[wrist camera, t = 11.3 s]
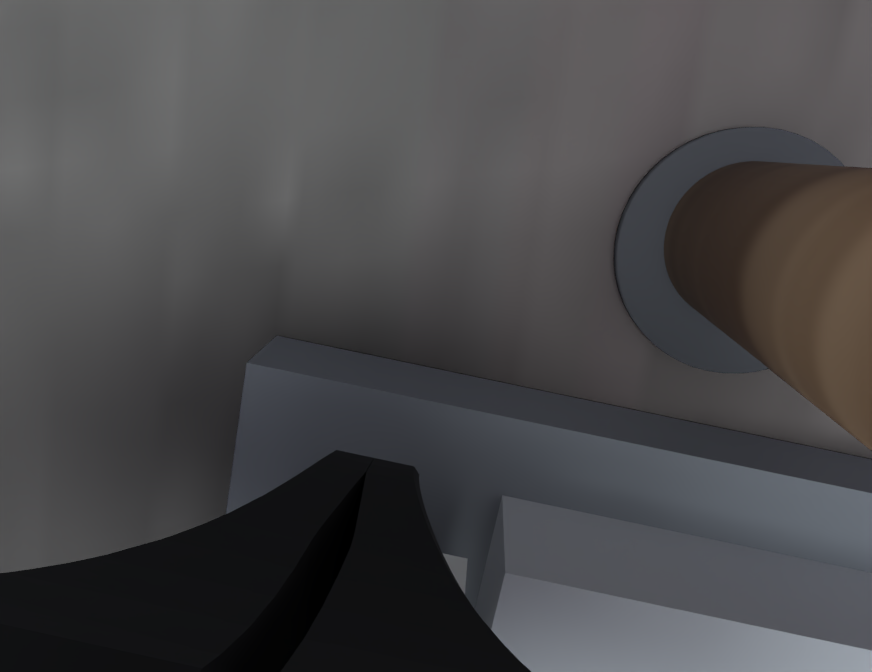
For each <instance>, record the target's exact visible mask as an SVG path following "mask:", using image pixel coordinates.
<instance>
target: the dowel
mask: <svg viewBox="0 0 872 672" xmlns="http://www.w3.org/2000/svg"><path fill="white" fill-rule="evenodd" d="M664 259H665V265H666V269H667V272H668V275H669V278H670V280H671V282H672V284H673V286H674V288H675V289H676V291H677V292H678V294H679V295H680V296H681V297H682V298H683V299H684V301H685V302H687V303H688V304H689V305H690V306H691V307H692V308H694V309H695V310H696V311H697V312H699V313H700V314H701V315H702V316H704V317H705V318H706V319H707V320H709V321H710V322H711V323H712V324H714V325H715V326H716V327H717V328H719V329H720V330H721V331H722V332H724V333H725V334H726V335H727V336H729V337H730V338H731V339H732V340H734V341H735V342H736V343H737V344H739V345H740V346H741V347H742V348H744V349H745V350H746V351H747V352H749V353H750V354H751V355H752V356H754V357H755V358H756V359H757V360H759V361H760V362H761V363H762V364H764V365H765V366H766V367H767V368H769V369H770V370H771V371H772V372H774V373H775V374H776V375H777V376H779V377H780V378H781V379H782V380H784V381H785V382H786V383H787V384H789V385H790V386H791V387H792V388H794V389H795V390H796V391H797V392H799V393H800V394H801V395H802V396H804V397H805V398H806V399H807V400H809V401H810V402H811V403H812V404H814V405H815V406H816V407H817V408H819V409H820V410H821V411H822V412H824V413H825V414H826V415H827V416H829V417H830V418H831V419H832V420H834V421H835V422H836V423H837V424H839V425H840V426H841V427H842V428H844V429H845V430H846V431H847V432H849V433H850V434H851V435H852V436H854V437H855V438H856V439H857V440H859V441H860V442H861V443H862V444H864V445H865V446H866V447H867V448H869V449H870V450H871V451H872V168H860V167H844V166H828V165H812V164H796V163H779V162H763V161H748V162H739V163H735V164H730V165H727V166H725V167H722V168H719V169H717V170H715V171H713V172H711V173H709V174H708V175H706V176H705V177H703V178H702V179H700V180H699V181H698V182H696V183H695V184H694V185H693V186H692V187H691V188H690V189H689V190H688V191H687V192H686V193H685V194H684V195H683V197H682V198H681V199H680V201H679V202H678V204H677V205H676V207H675V209H674V211H673V213H672V215H671V217H670V220H669V222H668V225H667V229H666V233H665V239H664Z"/></svg>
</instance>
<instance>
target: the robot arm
mask: <svg viewBox="0 0 872 672" xmlns="http://www.w3.org/2000/svg"><path fill="white" fill-rule="evenodd" d="M0 672H531V671H530V670H529V669H528V668H527V667H526V666H525V665H524V664H522V663H521V662H520V661H519V660H518V659H517V658H516V657H515V656H514V654H513V653H512V652H511V651H510V650H509V649H508V648H507V647H506V646H505V645H504V644H503V643H502V642H501V641H500V640H499V638H498V637H497V636H496V635H495V634H494V632H493V631H492V630H491V629H490V628H489V627H488V625H487V624H486V623H485V622H484V621H483V620H482V618H481V617H480V616H479V614H478V613H477V612H476V611H475V609H474V608H473V606H472V605H471V603H470V602H469V600H468V598H467V597H466V595H465V594H464V592H463V591H462V589H461V587H460V586H459V584H458V582H457V581H456V579H455V577H454V575H453V573H452V571H451V570H450V568H449V566H448V564H447V562H446V559H445V557H444V555H443V553H442V551H441V549H440V547H439V544H438V542H437V540H436V537H435V535H434V532H433V529H432V527H431V524H430V521H429V519H428V516H427V513H426V510H425V506H424V503H423V499H422V495H421V490H420V484H419V473H418V472H417V470H416V469H415V467H414V466H410V465H406V464H401V463H396V462H391V461H387V460H382V459H377V458H372V457H368V456H363V455H358V454H353V453H349V452H344V451H339V450H335V451H334V452H332V453H330V454H329V455H327V456H325V457H324V458H322V459H321V460H319V461H318V462H316V463H314V464H313V465H311V466H310V467H308V468H307V469H305V470H304V471H302V472H301V473H299V474H298V475H296V476H294V477H293V478H291V479H290V480H288V481H286V482H285V483H283V484H281V485H280V486H278V487H276V488H275V489H273V490H271V491H270V492H268V493H266V494H264V495H263V496H261V497H259V498H257V499H255V500H253V501H251V502H249V503H247V504H245V505H243V506H241V507H239V508H237V509H236V510H234V511H232V512H230V513H228V514H226V515H223V516H221V517H219V518H217V519H214V520H212V521H210V522H207V523H205V524H203V525H200V526H197V527H195V528H192V529H189V530H187V531H184V532H181V533H179V534H176V535H173V536H170V537H167V538H164V539H161V540H158V541H154V542H150V543H147V544H143V545H140V546H136V547H133V548H129V549H126V550H122V551H118V552H115V553H111V554H108V555H104V556H99V557H95V558H90V559H85V560H80V561H76V562H71V563H66V564H60V565H54V566H48V567H42V568H36V569H30V570H23V571H16V572H9V573H0Z"/></svg>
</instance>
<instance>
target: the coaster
mask: <svg viewBox="0 0 872 672" xmlns="http://www.w3.org/2000/svg"><path fill="white" fill-rule="evenodd" d="M748 161H763V162H779V163H796V164H812V165H828V166H844V165H843V164H842V163H841V162H840V161H839V160H838V159H837V158H836V157H835V156H834V155H832V154H831V153H830V152H829V151H828V150H826V149H825V148H823V147H822V146H820V145H819V144H817V143H815V142H814V141H812V140H810V139H807V138H805V137H803V136H800V135H798V134H795V133H792V132H788V131H784V130H780V129H773V128H765V127H745V128H735V129H727V130H721V131H717V132H714V133H710V134H706V135H704V136H701V137H699V138H696V139H694V140H692V141H689V142H688V143H686V144H684V145H682V146H681V147H679V148H677V149H675V150H674V151H673V152H671V153H670V154H668V155H667V156H666V157H664V158H663V159H662V160H661V161H660V162H658V163H657V164H656V165H655V166H654V167H653V168H652V169H651V170H650V171H649V172H648V173H647V175H646V176H645V177H644V178H643V179H642V181H641V182H640V183H639V184H638V186H637V187H636V189H635V191H634V192H633V194H632V195H631V197H630V198H629V201H628V203H627V205H626V207H625V209H624V211H623V213H622V217H621V220H620V223H619V226H618V229H617V235H616V240H615V249H614V267H615V276H616V281H617V285H618V290H619V292H620V295H621V298H622V300H623V303H624V305H625V307H626V309H627V311H628V313H629V314H630V316H631V318H632V319H633V320H634V322H635V323H636V325H637V326H638V327H639V329H640V330H641V331H642V332H643V333H644V334H645V335H646V336H647V338H648V339H649V340H650V341H651V342H652V343H653V344H654V345H656V346H657V347H658V348H660V349H661V350H662V351H663V352H665V353H666V354H668V355H669V356H671V357H673V358H675V359H676V360H678V361H680V362H683V363H685V364H687V365H690V366H692V367H695V368H699V369H703V370H706V371H712V372H719V373H748V372H756V371H761V370H765V369H769V368H767V367H766V366H765V365H764V364H762V363H761V362H760V361H759V360H757V359H756V358H755V357H754V356H752V355H751V354H750V353H749V352H747V351H746V350H745V349H744V348H742V347H741V346H740V345H739V344H737V343H736V342H735V341H734V340H732V339H731V338H730V337H729V336H727V335H726V334H725V333H724V332H722V331H721V330H720V329H719V328H717V327H716V326H715V325H714V324H712V323H711V322H710V321H709V320H707V319H706V318H705V317H704V316H702V315H701V314H700V313H699V312H697V311H696V310H695V309H694V308H692V307H691V306H690V305H689V304H688V303H687V302H685V301H684V299H683V298H682V297H681V296H680V295H679V294H678V292H677V291H676V289H675V288H674V286H673V284H672V282H671V280H670V278H669V275H668V272H667V269H666V265H665V259H664V239H665V233H666V229H667V225H668V222H669V220H670V217H671V215H672V213H673V211H674V209H675V207H676V205H677V204H678V202H679V201H680V199H681V198H682V197H683V195H684V194H685V193H686V192H687V191H688V190H689V189H690V188H691V187H692V186H693V185H694V184H695V183H696V182H698V181H699V180H700V179H702V178H703V177H705V176H706V175H708V174H709V173H711V172H713V171H715V170H717V169H719V168H722V167H725V166H727V165H730V164H735V163H739V162H748ZM844 167H845V166H844Z"/></svg>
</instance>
